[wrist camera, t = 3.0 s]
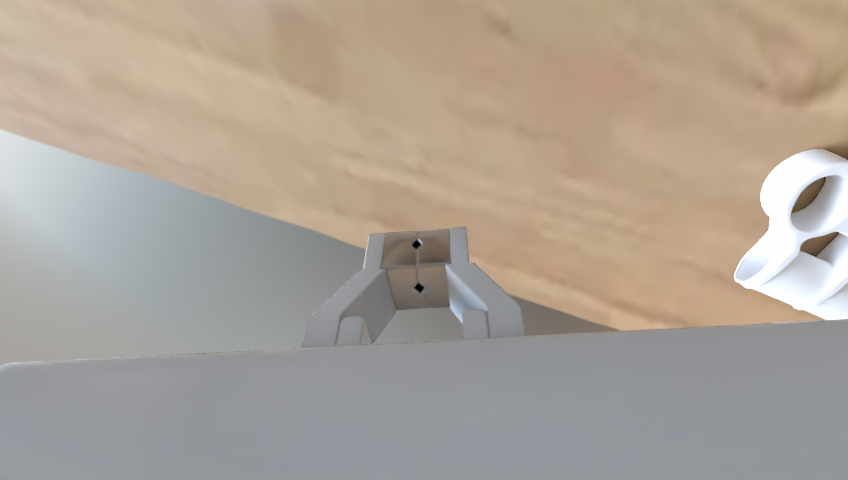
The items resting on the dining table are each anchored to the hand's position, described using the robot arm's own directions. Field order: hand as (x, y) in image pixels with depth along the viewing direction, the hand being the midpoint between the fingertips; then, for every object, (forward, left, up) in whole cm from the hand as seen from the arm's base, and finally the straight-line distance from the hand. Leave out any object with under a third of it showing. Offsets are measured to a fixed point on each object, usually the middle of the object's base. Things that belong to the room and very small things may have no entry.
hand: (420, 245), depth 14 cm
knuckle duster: (+25, -24, -25) cm, 42 cm away
